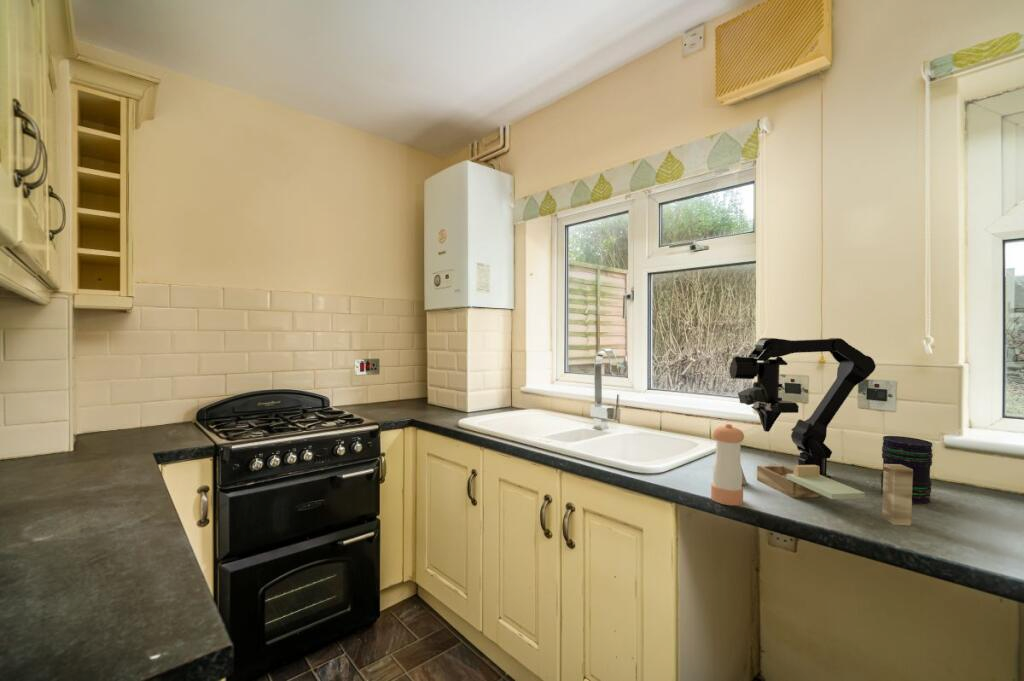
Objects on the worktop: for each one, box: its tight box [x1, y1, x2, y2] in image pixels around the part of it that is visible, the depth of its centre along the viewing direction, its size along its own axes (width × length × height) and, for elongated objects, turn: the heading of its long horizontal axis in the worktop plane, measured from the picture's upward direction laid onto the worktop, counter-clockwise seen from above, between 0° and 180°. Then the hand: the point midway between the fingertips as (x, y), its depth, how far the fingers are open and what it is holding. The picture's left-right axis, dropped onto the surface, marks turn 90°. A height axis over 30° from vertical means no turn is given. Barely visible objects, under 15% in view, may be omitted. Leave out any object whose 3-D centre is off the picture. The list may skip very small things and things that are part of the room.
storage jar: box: [880, 435, 933, 506], centre depth 117 cm, size 10×10×15 cm
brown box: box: [881, 464, 913, 526], centre depth 102 cm, size 4×4×12 cm
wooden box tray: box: [756, 464, 822, 499], centre depth 123 cm, size 8×14×4 cm, turn 7°
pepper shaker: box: [710, 423, 745, 506], centre depth 113 cm, size 7×7×19 cm
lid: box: [786, 464, 866, 500], centre depth 111 cm, size 8×14×4 cm, turn 7°
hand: (766, 431), depth 136 cm, fingers closed
